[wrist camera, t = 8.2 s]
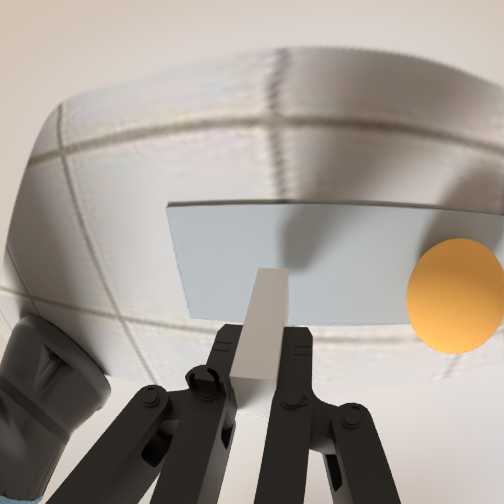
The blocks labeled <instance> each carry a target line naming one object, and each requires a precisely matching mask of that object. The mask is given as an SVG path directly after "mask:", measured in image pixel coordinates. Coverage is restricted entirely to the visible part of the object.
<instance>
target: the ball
mask: <svg viewBox="0 0 504 504" xmlns="http://www.w3.org/2000/svg"><path fill="white" fill-rule="evenodd" d="M406 307H407V313H408V317H409V320H410V323H411V325H412V327H413V329H414V331H415V332H416V334H417V335H418V336H419V338H420V339H421V340H422V341H423V342H424V343H425V344H427V345H428V346H429V347H431V348H433V349H435V350H437V351H439V352H443V353H448V354H460V353H465V352H468V351H471V350H473V349H475V348H477V347H479V346H480V345H482V344H483V343H485V342H486V341H487V340H488V339H489V338H490V337H491V336H492V335H493V333H494V332H495V331H496V329H497V328H498V326H499V324H500V322H501V320H502V318H503V316H504V271H503V268H502V266H501V264H500V262H499V261H498V259H497V258H496V256H495V255H494V254H493V253H492V252H491V251H490V250H489V249H488V248H486V247H485V246H484V245H482V244H480V243H478V242H476V241H473V240H470V239H464V238H456V239H450V240H446V241H443V242H441V243H439V244H437V245H435V246H434V247H432V248H431V249H429V250H428V251H427V252H426V253H425V254H424V255H423V256H422V257H421V258H420V260H419V261H418V263H417V264H416V266H415V267H414V269H413V271H412V273H411V276H410V279H409V282H408V286H407V294H406Z"/></svg>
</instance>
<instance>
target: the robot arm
mask: <svg viewBox="0 0 504 504" xmlns="http://www.w3.org/2000/svg"><path fill="white" fill-rule="evenodd" d="M288 314H289V269H281V268H258V272H257V276H256V280H255V283H254V287H253V291H252V295H251V298H250V302H249V306H248V310H247V313H246V317H245V321H244V324H243V325H233V324H225V325H224V326H223V327H222V328H221V329H220V330H219V331H218V332H217V335H216V338H215V341H214V343H213V346H212V350H211V352H210V355H209V357H208V360H207V363H206V365H200V366H197V367H194V368H192V369H191V370H190V371H188V373H187V374H186V376H185V379H186V381H187V383H188V386H189V389H186V390H181V391H170V392H166V390H165V389H164V388H163V387H161V386H158V385H148V386H145V387H143V388H141V389H140V390H139V391H138V392H137V393H136V394H135V396H134V397H133V398H132V399H131V400H130V402H129V403H128V404H127V405H126V406H125V408H124V409H123V410H122V412H121V413H120V414H119V415H118V416H117V417H116V419H115V420H114V421H113V422H112V423H111V425H110V426H109V427H108V428H107V430H106V431H105V432H104V433H103V434H102V436H101V437H100V438H99V439H98V440H97V442H96V443H95V444H94V445H93V446H92V448H91V449H90V450H89V451H88V453H87V454H86V455H85V456H84V458H83V459H82V460H81V461H80V462H79V463H78V465H77V466H76V467H75V468H74V470H73V471H72V472H71V473H70V474H69V476H68V477H67V478H66V479H65V480H64V482H63V483H62V484H61V485H60V487H59V488H58V489H57V490H56V491H55V493H54V494H53V495H52V496H51V497H50V499H49V500H48V501H47V502H46V503H45V504H138V503H139V501H140V500H141V498H142V497H143V496H144V494H145V493H146V491H147V490H148V489H149V487H150V486H151V484H152V483H153V482H154V480H155V479H156V477H157V476H158V475H159V473H160V475H159V478H158V481H157V484H156V486H155V489H154V492H153V495H152V498H151V501H150V504H217V502H218V498H219V494H220V490H221V486H222V482H223V478H224V474H225V470H226V466H227V462H228V458H229V453H230V449H231V445H232V441H233V436H234V432H235V428H236V421H235V416H236V412H237V411H238V414H240V415H249V416H259V417H269V422H268V428H267V435H266V440H265V446H264V452H263V457H262V464H261V469H260V474H259V479H258V485H257V489H256V494H255V500H254V504H303V503H304V495H305V486H306V476H307V466H308V455H309V449H311V450H314V451H317V452H320V453H322V455H323V459H324V464H325V468H326V472H327V477H328V481H329V485H330V490H331V494H332V498H333V503H334V504H401V502H400V499H399V496H398V493H397V489H396V486H395V483H394V480H393V477H392V473H391V470H390V468H389V464H388V462H387V459H386V456H385V453H384V450H383V447H382V444H381V441H380V439H379V436H378V433H377V430H376V428H375V425H374V422H373V419H372V417H371V414H370V412H369V411H368V409H367V408H365V407H364V406H363V405H361V404H357V403H346V404H343V405H341V406H339V407H337V406H335V405H331V404H328V403H325V402H323V401H321V400H320V399H318V398H317V397H316V396H315V394H314V392H313V390H312V347H313V336H312V334H311V332H310V331H309V329H308V327H287V324H288ZM110 393H111V388H110V384H109V382H108V380H107V379H106V377H105V375H104V374H103V372H102V371H101V370H100V369H99V367H98V366H97V365H96V364H95V363H94V361H93V360H92V359H91V358H90V357H89V356H88V355H87V354H86V353H85V352H84V351H83V350H82V349H81V348H80V347H79V346H78V345H77V344H76V343H74V342H73V341H72V340H71V339H70V338H69V337H68V336H66V335H65V334H64V333H63V332H61V331H60V330H59V329H57V328H56V327H54V326H53V325H52V324H50V323H48V322H47V321H45V320H43V319H41V318H39V317H37V316H34V315H25V316H24V317H23V318H22V319H21V320H20V321H19V322H18V323H17V324H16V326H15V327H14V329H13V331H12V334H11V336H10V339H9V341H8V344H7V346H6V349H5V352H4V355H3V358H2V361H1V364H0V504H38V502H40V501H41V500H42V497H43V495H44V492H45V490H46V488H47V485H48V483H49V481H50V479H51V476H52V474H53V472H54V470H55V468H56V465H57V463H58V461H59V459H60V457H61V455H62V453H63V451H64V449H65V447H66V445H67V443H68V441H69V439H70V437H71V436H72V434H73V432H74V431H75V430H76V429H77V428H79V426H81V425H82V424H83V423H84V422H85V421H86V420H87V419H88V418H89V417H91V416H92V414H94V412H95V411H98V410H100V409H101V408H102V407H103V406H104V405H105V403H106V401H107V399H108V398H109V396H110Z"/></svg>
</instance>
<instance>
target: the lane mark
mask: <svg viewBox="0 0 504 504" xmlns="http://www.w3.org/2000/svg"><path fill="white" fill-rule="evenodd" d="M166 213H167V218H168V223H169V228H170V233H171V238H172V243H173V247H174V252H175V256H176V261H177V265H178V269H179V273H180V278H181V282H182V286H183V290H184V294H185V298H186V302H187V305H188V309H189V313H190V317H191V318H194V319H205V320H217V321H230V322H244V321H245V317H246V313H247V310H248V306H249V302H250V298H251V295H252V291H253V287H254V283H255V280H256V276H257V272H258V268H281V269H289V314H288V324H287V325H321V326H361V325H398V324H411V323H410V320H409V317H408V313H407V307H406V294H407V286H408V282H409V279H410V276H411V273H412V271H413V269H414V267H415V266H416V264H417V263H418V261H419V260H420V258H421V257H422V256H423V255H424V254H425V253H426V252H427V251H428V250H429V249H431V248H432V247H434V246H435V245H437V244H439V243H441V242H443V241H446V240H450V239H456V238H464V239H470V240H473V241H476V242H478V243H480V244H482V245H484V246H485V247H486V248H488V249H489V250H490V251H491V252H492V253H493V254H494V255H495V256H496V258H497V259H498V261H499V262H500V264H501V266H502V268H503V271H504V215H495V214H486V213H476V212H466V211H455V210H442V209H429V208H414V207H397V206H376V205H349V204H216V205H188V206H167V207H166Z"/></svg>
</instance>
